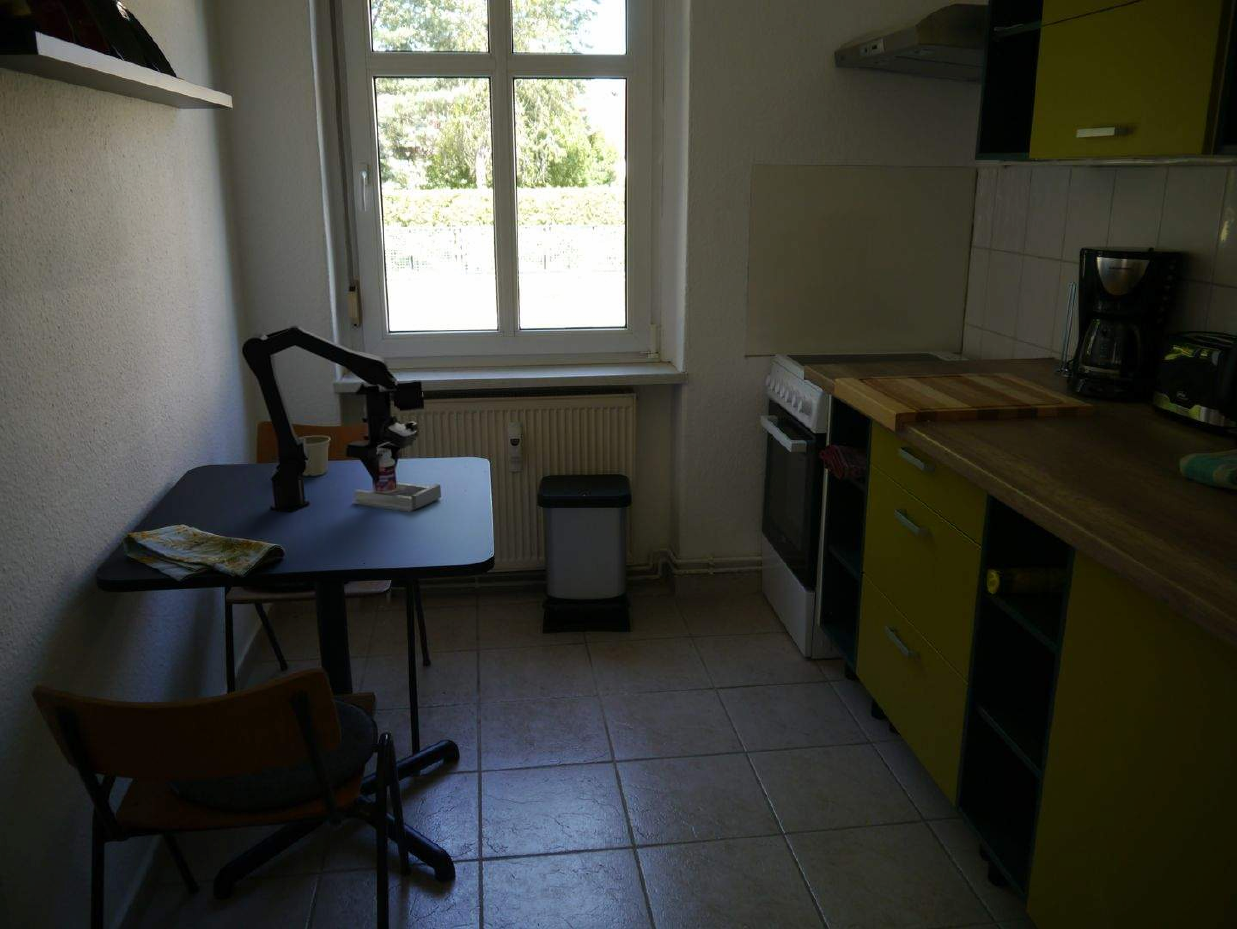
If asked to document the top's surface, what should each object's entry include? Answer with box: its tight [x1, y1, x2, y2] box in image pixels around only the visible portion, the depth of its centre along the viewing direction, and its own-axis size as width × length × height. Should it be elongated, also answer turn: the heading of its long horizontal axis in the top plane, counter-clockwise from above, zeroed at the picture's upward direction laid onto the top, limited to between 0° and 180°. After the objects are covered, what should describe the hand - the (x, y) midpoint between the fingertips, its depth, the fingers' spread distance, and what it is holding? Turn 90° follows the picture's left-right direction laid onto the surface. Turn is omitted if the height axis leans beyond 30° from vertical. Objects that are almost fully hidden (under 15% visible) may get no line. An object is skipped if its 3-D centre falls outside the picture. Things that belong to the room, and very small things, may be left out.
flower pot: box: [298, 435, 331, 477], centre depth 260 cm, size 9×9×9 cm
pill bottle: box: [371, 448, 397, 494], centre depth 237 cm, size 5×5×10 cm
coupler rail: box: [352, 481, 442, 513], centre depth 237 cm, size 11×17×4 cm, turn 64°
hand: (384, 478), depth 238 cm, fingers closed on pill bottle, 5 cm apart
